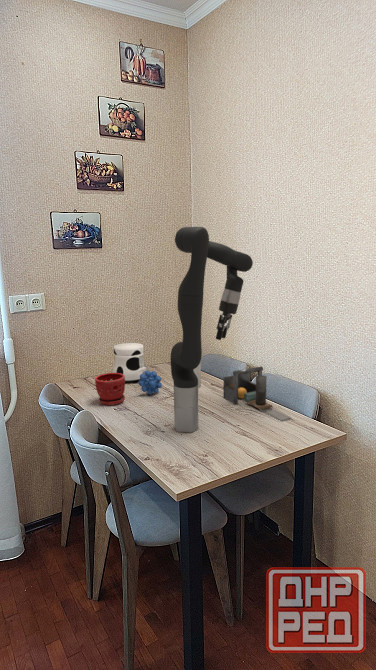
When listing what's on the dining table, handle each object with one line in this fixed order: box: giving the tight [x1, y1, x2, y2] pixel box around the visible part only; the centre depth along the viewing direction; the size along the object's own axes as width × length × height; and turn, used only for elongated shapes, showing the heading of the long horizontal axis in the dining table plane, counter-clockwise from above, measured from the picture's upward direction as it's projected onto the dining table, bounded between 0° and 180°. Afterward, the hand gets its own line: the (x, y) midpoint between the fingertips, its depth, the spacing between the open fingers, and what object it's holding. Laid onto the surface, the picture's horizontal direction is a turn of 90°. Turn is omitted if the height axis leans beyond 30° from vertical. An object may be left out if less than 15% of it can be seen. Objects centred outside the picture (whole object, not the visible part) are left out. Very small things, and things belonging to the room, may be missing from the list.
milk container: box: [112, 342, 147, 383], centre depth 236 cm, size 17×17×18 cm
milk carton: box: [193, 360, 202, 388], centre depth 221 cm, size 7×7×19 cm
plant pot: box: [94, 372, 126, 406], centre depth 202 cm, size 13×13×12 cm
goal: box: [222, 366, 264, 405], centre depth 204 cm, size 10×15×15 cm, turn 119°
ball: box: [238, 388, 247, 400], centre depth 206 cm, size 5×5×5 cm
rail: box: [259, 407, 292, 422], centre depth 186 cm, size 14×5×1 cm, turn 29°
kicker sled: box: [243, 374, 273, 410], centre depth 194 cm, size 12×6×13 cm, turn 29°
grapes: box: [137, 369, 163, 396], centre depth 211 cm, size 12×7×12 cm, turn 116°
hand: (220, 338), depth 190 cm, fingers open, 8 cm apart
